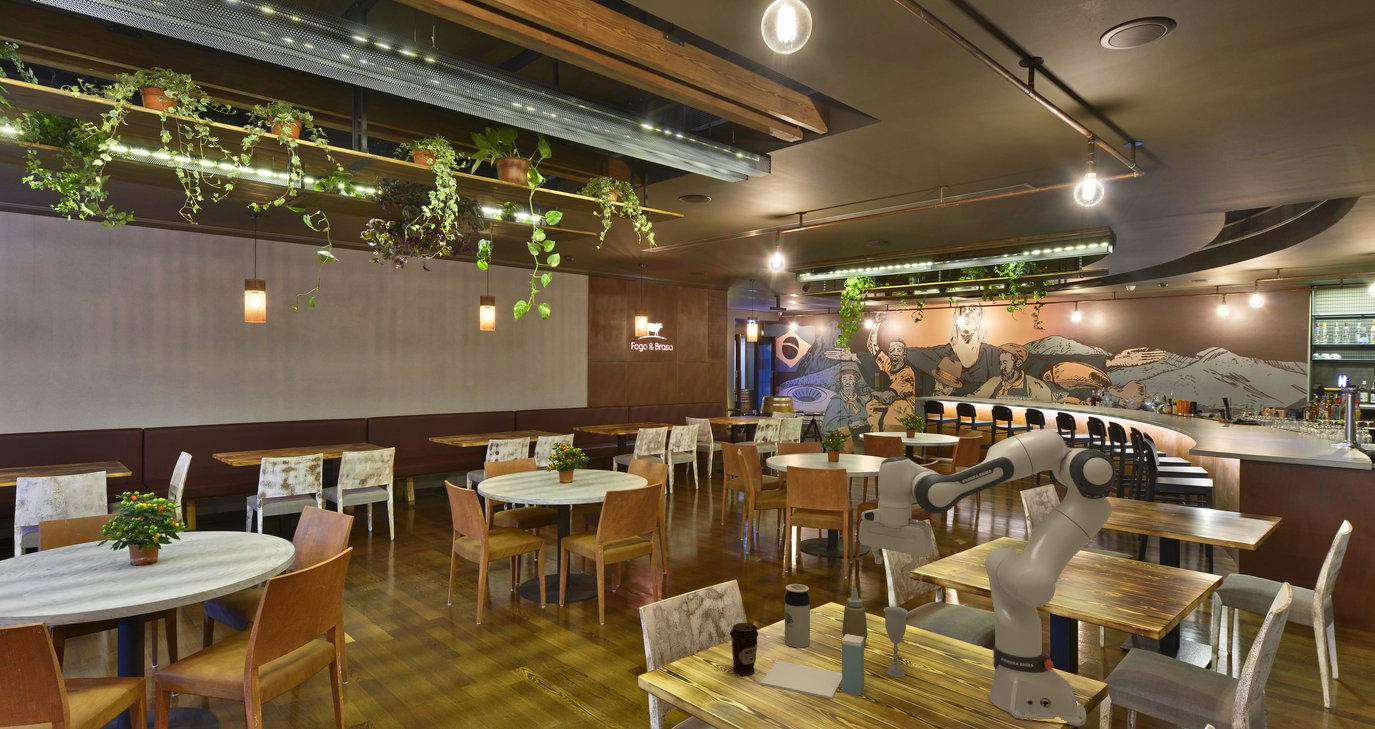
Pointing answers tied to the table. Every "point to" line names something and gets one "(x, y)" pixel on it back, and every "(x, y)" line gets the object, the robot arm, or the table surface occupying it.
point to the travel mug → (797, 616)
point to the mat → (803, 679)
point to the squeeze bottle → (855, 617)
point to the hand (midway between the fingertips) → (894, 566)
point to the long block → (853, 664)
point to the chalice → (895, 635)
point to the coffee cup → (744, 648)
